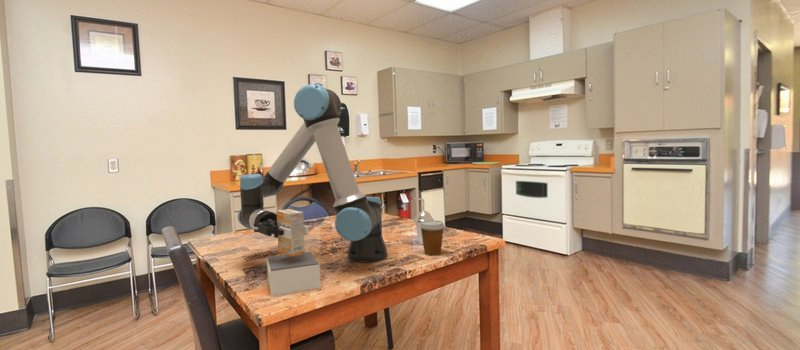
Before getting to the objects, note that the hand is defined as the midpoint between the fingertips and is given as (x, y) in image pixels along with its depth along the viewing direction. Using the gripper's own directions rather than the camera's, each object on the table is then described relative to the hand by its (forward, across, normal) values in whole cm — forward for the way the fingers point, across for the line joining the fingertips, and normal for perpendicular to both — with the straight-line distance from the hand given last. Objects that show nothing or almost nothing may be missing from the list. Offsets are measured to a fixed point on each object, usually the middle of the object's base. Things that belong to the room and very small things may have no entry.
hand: (298, 232), depth 115 cm
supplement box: (-5, 0, -7) cm, 9 cm away
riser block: (-5, 0, -17) cm, 18 cm away
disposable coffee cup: (+5, -54, -17) cm, 57 cm away
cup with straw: (-8, -62, -17) cm, 65 cm away
